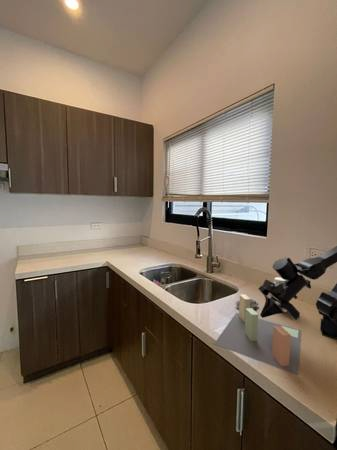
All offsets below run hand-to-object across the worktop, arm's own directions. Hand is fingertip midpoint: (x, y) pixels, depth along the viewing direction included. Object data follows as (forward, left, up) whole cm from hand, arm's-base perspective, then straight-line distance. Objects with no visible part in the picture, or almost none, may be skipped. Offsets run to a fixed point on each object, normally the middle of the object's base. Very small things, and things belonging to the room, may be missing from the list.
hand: (261, 316), depth 83 cm
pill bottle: (-3, -31, -9) cm, 32 cm away
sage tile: (+3, +2, -8) cm, 9 cm away
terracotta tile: (-8, +10, -8) cm, 15 cm away
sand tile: (+8, -10, -8) cm, 15 cm away
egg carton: (+10, -22, -9) cm, 26 cm away
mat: (0, 0, -8) cm, 8 cm away
